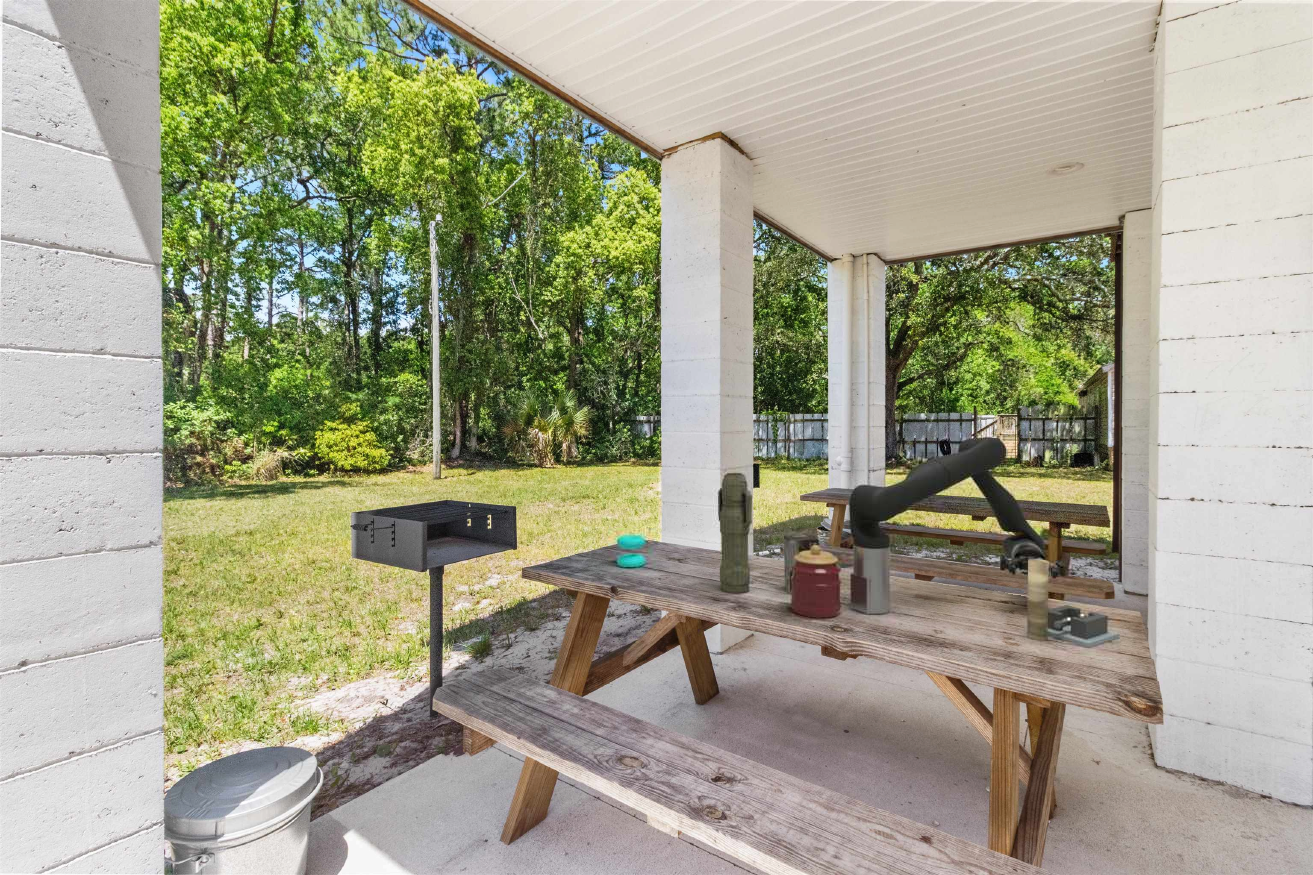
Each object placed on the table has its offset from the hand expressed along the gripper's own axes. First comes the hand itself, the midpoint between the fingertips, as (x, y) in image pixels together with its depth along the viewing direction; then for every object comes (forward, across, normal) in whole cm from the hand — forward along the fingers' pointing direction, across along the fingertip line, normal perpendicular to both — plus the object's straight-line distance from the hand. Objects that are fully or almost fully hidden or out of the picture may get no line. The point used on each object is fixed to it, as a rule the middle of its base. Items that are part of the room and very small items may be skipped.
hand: (1034, 572), depth 147 cm
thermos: (+7, -76, +12) cm, 78 cm away
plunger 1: (+9, +5, +10) cm, 14 cm away
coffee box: (-1, -58, +12) cm, 60 cm away
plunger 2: (+1, +11, +10) cm, 15 cm away
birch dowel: (+12, 0, +12) cm, 17 cm away
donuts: (-5, -120, +12) cm, 120 cm away
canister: (+15, -51, +12) cm, 54 cm away
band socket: (+5, +8, +13) cm, 16 cm away
